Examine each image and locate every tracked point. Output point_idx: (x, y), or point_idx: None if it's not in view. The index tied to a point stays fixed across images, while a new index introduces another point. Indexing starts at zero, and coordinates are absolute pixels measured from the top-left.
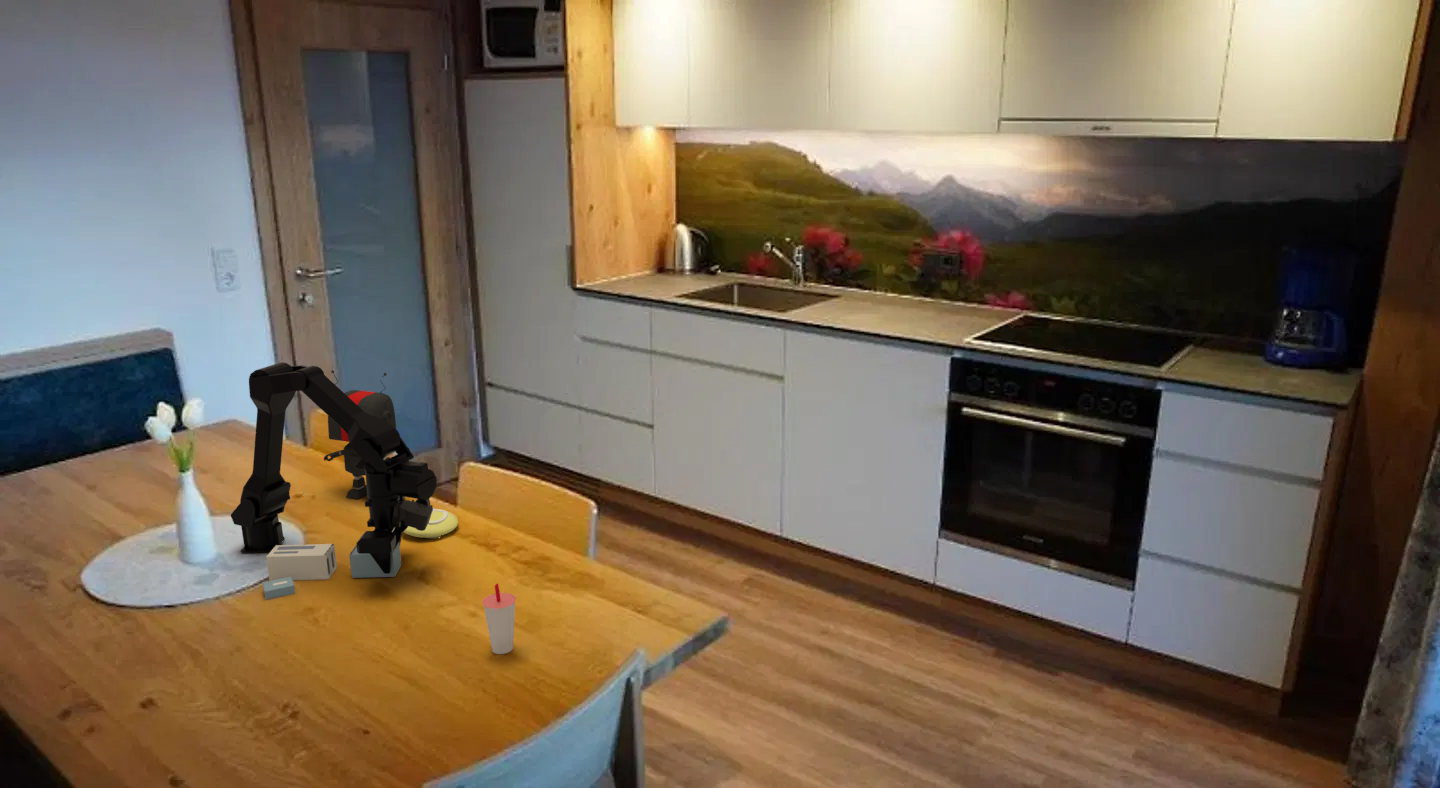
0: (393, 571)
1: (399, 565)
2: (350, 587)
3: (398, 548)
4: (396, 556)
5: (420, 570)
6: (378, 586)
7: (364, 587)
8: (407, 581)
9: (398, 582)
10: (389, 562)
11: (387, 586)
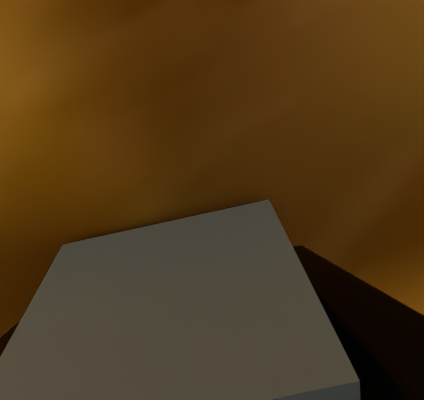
0: (282, 227)
1: (113, 244)
2: None
3: (36, 384)
4: (166, 314)
5: (92, 35)
6: (402, 240)
7: None
8: (326, 59)
9: (344, 130)
10: (400, 307)
11: (408, 182)
